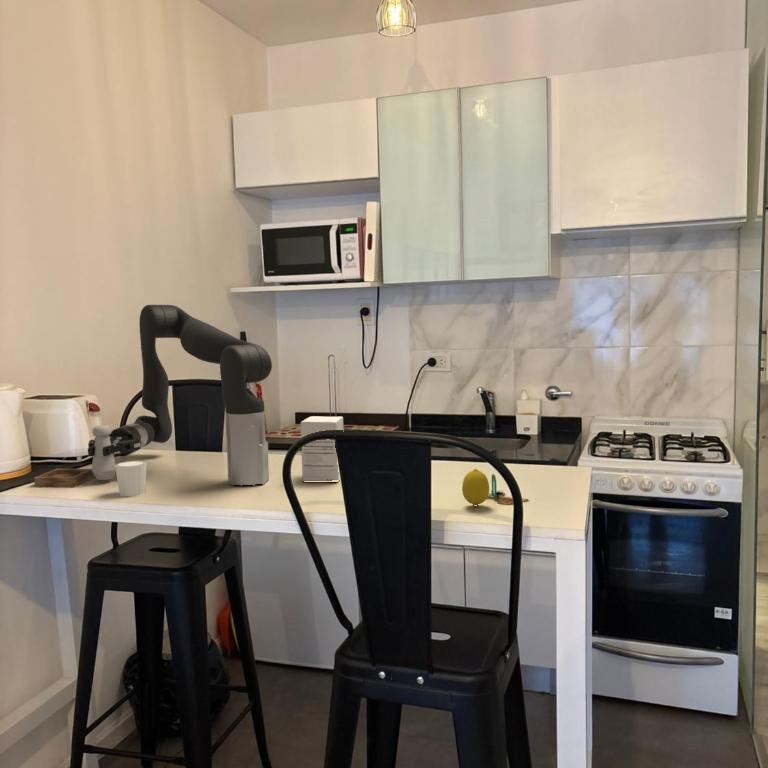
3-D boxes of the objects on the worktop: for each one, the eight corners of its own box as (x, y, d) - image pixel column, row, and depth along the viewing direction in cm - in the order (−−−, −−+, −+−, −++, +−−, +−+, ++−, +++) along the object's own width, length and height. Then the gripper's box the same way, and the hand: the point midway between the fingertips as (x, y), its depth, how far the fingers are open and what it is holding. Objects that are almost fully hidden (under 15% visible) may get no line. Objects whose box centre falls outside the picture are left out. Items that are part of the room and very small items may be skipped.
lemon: (487, 503, 154) (487, 466, 153) (490, 510, 148) (490, 471, 148) (461, 503, 154) (461, 466, 153) (463, 510, 149) (463, 472, 148)
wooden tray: (94, 477, 185) (93, 468, 185) (74, 486, 175) (74, 477, 175) (56, 477, 186) (56, 468, 186) (34, 486, 176) (34, 477, 176)
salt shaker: (108, 481, 176) (105, 427, 175) (87, 480, 177) (83, 427, 176) (121, 475, 182) (118, 423, 180) (101, 475, 183) (97, 423, 182)
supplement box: (310, 474, 184) (309, 415, 183) (345, 475, 183) (344, 415, 181) (301, 482, 175) (299, 421, 174) (337, 483, 174) (336, 421, 172)
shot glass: (138, 497, 164) (137, 467, 163) (110, 496, 165) (108, 466, 164) (153, 490, 170) (152, 460, 170) (126, 489, 172) (124, 460, 171)
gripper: (101, 425, 193) (68, 437, 176) (152, 425, 192) (124, 436, 175) (103, 453, 194) (70, 467, 177) (154, 453, 193) (126, 467, 176)
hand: (97, 452), depth 176 cm, fingers closed on salt shaker, 3 cm apart
